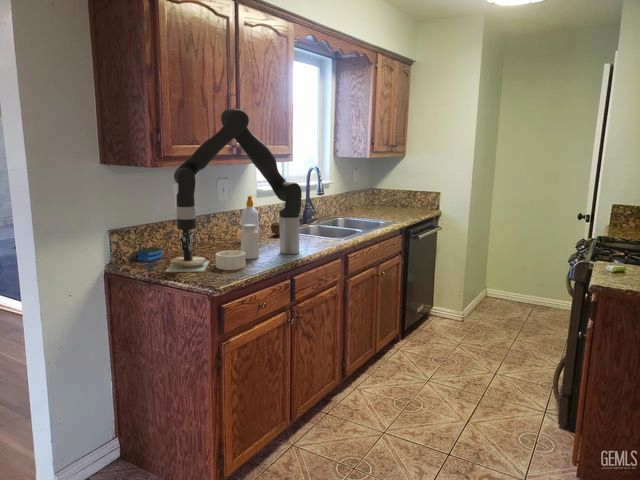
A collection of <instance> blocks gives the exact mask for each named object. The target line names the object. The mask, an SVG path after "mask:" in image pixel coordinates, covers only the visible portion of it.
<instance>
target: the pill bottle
mask: <svg viewBox="0 0 640 480" xmlns="http://www.w3.org/2000/svg"><path fill="white" fill-rule="evenodd" d="M255 228H256V225H254V224H245V225H244V231H242V230H241V232H240V251H243V252H245V253H246V260H256V259H258V258H259V256H260V249H259V248H260V246H259V245H260V243H259V242H260V239H259V238H260V237H259V236H260V235H259V231H258V232H257V231H256V230H255Z"/></svg>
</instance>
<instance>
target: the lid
mask: <svg viewBox="0 0 640 480" xmlns="http://www.w3.org/2000/svg"><path fill="white" fill-rule="evenodd" d="M182 251H183V250H182ZM182 254H183V255H182V256H179V257H174V258H172V259H171V260H170V265H171V264H172V265H174V266H196V265H201V264H203V263H205V262H206V261H207V260H206V258H205V257H203V256H199V255H198V256H196V255H195V256H193V246H192V247H190V259H189V260H185V259H184V251H183V253H182Z"/></svg>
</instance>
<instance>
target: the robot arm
mask: <svg viewBox="0 0 640 480" xmlns="http://www.w3.org/2000/svg"><path fill="white" fill-rule="evenodd" d="M220 121H221V124H222V127H221V128H220V129H219V130H218V132H216V133H215V134H214V135H213V136H211V137H210V138H208V139H207V140H205V141H204V142H203V143H202V144H201V145H200V146H199V147H198V148H197V149H196V150H194V152H193V154H192V155H190V157H189V158H188V159H186V160H185V161H184V162H183V163H182V164H181V165H180V166H179V167H178V168H177V169H175V171H174V175H173V179H174V181H175V182H176V183H177V193H176V228H177V230H181V231H182V233H181V236H180V241H181V249H182V251H184V256H183V257H184V259H185V260H189V259H190V247H192V248H193V245H194V243H193V240H194V232H193V230H195V229H196V228H197V216H196V215H197V213H196V212H197V211H196V204H195V201H196V199H195V192H196V175H197V174H198V173H199V172H200V171H203V170H204V169H205V168H206V167H207V165H209V163H210V162H212V161H213V159H214V158H215V157H216V156H217V155H218V154H219V153H220V152H221V150H222V149H224V148H225V147H226V146H227V145H228V144H229V143H230V142H232V141H233V139H235V141H236V143H238V144H239V145H240V147H241V149H242V150H243V152H244V153H245V154H246V155H247V157H248V158H249V159H250V161H251V163H252V164H253V166H255V168H256V169H257V171H259V172H260V173H261V175H262V177H263V178H264V179H265V180H266V182H267V183H268V184H269V186H270V187H271V190H272V191H273V193H274V194H275V196H276V197H277V198H278V199H279V200H280V201H281V202H284V207H283V208H282V209H280V210H279V223H280V236H279V253H280V254H283V255H296V254H300V212H301V210H302V198H303V197H302V196H303V194H302V187H301V186H300V185H299V184H298V183H297V182H292V181H287V180H286V179H285V178H284V177H283V176H282V174H280V171H279V169H278V164H277V160H276V157H275V156H274V154H273V153H272V152H271V150H270V149H269V148H268V146H267V145H266V144H265V143H264V142H263V141H261V140H260V139H259V138H258V137H257V136H256V135H255V134H254V133H253V132H252V131H251V130H250V129H249V128H248V126H249V122H250V118H249V115H248V114H247V113H246V111H244V110H242V109H238V108H226V109H225V110H224V111H223V112H222V113H221V116H220Z"/></svg>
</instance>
